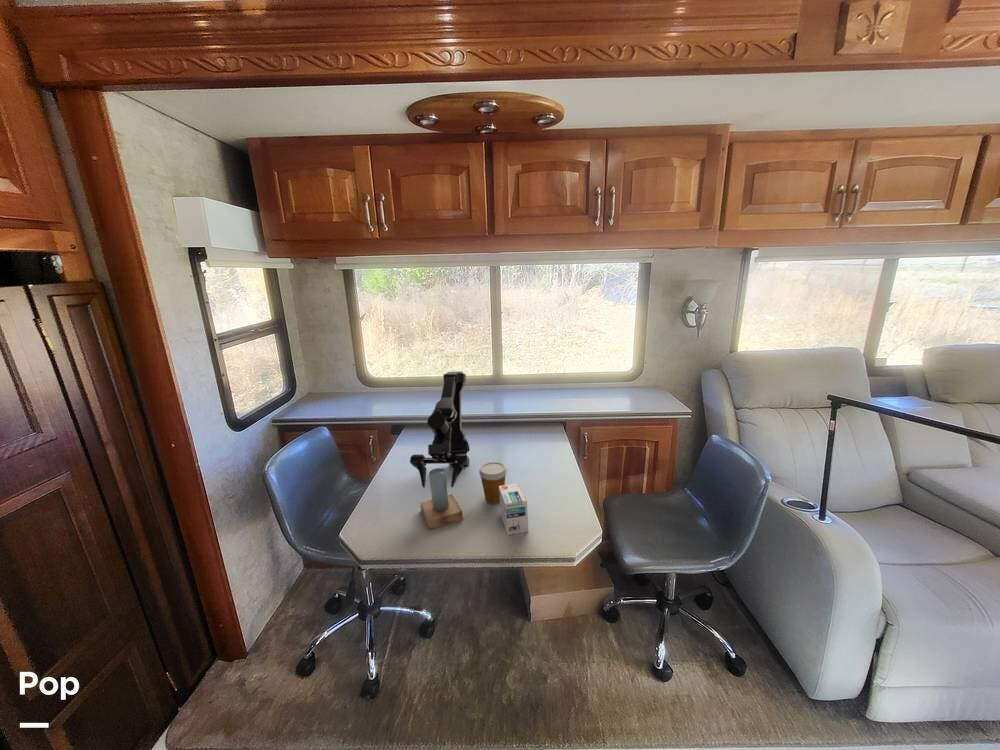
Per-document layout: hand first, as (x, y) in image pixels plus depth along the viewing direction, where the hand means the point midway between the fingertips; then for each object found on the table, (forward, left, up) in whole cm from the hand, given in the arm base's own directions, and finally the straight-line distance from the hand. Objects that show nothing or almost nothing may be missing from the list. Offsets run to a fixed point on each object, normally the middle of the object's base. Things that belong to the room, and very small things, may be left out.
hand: (437, 487), depth 118 cm
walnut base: (-1, -1, -11) cm, 11 cm away
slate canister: (-1, -1, -8) cm, 8 cm away
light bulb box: (-20, +14, -11) cm, 27 cm away
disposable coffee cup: (-20, -1, -11) cm, 23 cm away
